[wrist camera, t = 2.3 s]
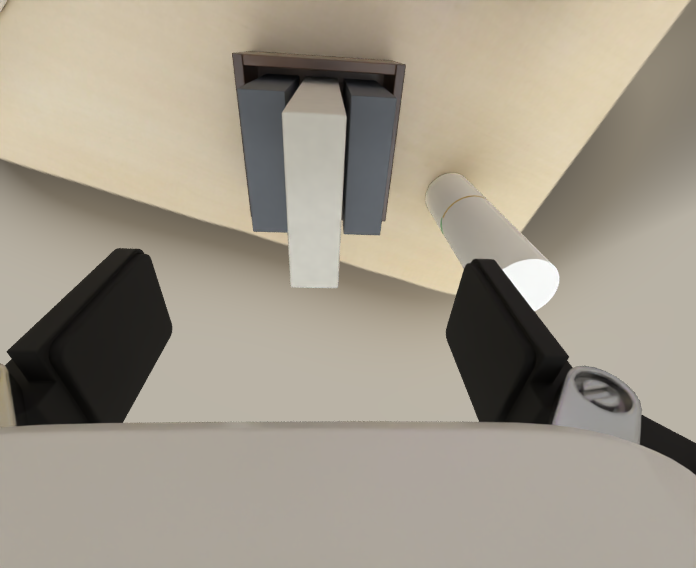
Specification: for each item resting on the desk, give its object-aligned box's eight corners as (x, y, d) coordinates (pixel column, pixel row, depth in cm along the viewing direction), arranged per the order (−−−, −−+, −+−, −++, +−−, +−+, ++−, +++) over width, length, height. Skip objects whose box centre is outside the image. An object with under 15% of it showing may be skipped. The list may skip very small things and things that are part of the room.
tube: (434, 168, 30) (506, 252, 18) (478, 178, 31) (574, 265, 19) (419, 212, 33) (472, 312, 21) (459, 220, 34) (534, 322, 21)
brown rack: (262, 191, 31) (250, 217, 26) (249, 50, 25) (231, 52, 20) (377, 195, 32) (385, 221, 27) (392, 60, 26) (406, 64, 21)
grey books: (273, 180, 30) (253, 231, 22) (266, 73, 25) (236, 88, 17) (366, 183, 30) (380, 235, 22) (375, 80, 26) (397, 98, 18)
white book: (306, 181, 30) (290, 287, 17) (305, 75, 25) (281, 111, 12) (334, 182, 30) (338, 288, 17) (337, 78, 26) (346, 114, 13)
